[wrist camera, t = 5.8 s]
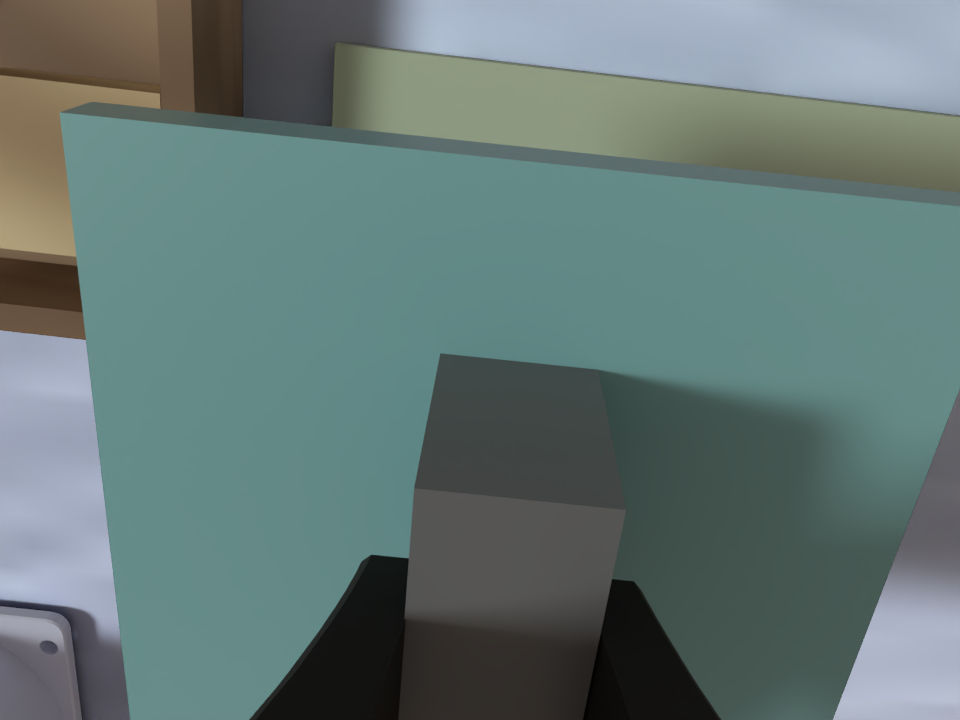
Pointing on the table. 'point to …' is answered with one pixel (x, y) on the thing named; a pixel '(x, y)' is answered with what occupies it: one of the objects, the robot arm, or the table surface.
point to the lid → (499, 406)
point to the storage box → (79, 80)
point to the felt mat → (641, 118)
